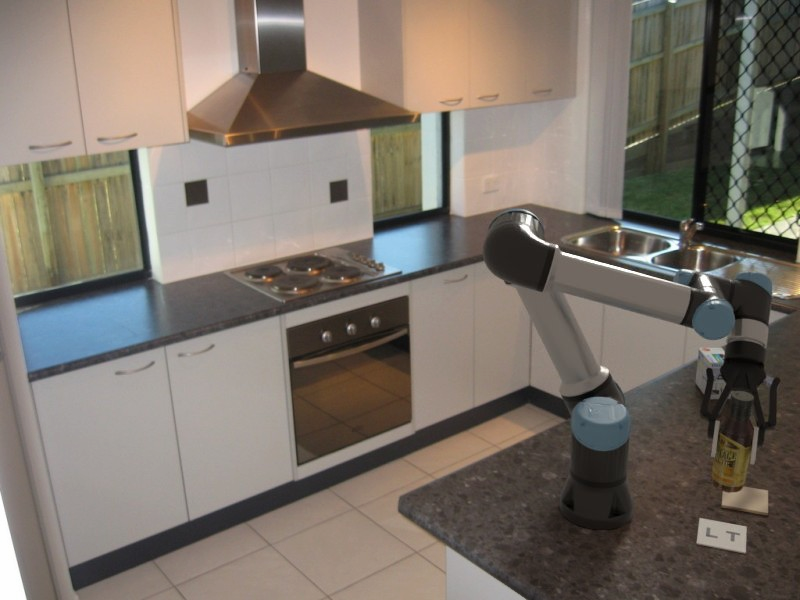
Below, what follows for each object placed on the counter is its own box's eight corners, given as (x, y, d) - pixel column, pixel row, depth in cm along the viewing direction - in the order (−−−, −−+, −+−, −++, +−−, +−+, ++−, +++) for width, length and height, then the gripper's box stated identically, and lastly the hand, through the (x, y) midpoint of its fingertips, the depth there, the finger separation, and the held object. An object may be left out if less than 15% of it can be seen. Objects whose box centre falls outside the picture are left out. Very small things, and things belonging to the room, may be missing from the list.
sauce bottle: (703, 481, 167) (714, 390, 160) (727, 474, 169) (740, 384, 162) (727, 498, 161) (740, 404, 154) (752, 490, 163) (766, 398, 156)
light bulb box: (732, 399, 225) (736, 362, 221) (706, 400, 225) (710, 363, 221) (718, 382, 235) (722, 346, 231) (694, 383, 235) (697, 347, 231)
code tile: (696, 544, 166) (696, 542, 166) (699, 519, 174) (699, 517, 174) (745, 553, 163) (745, 552, 163) (746, 527, 171) (746, 526, 171)
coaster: (721, 507, 178) (721, 504, 178) (723, 485, 186) (723, 483, 186) (767, 515, 175) (768, 513, 175) (767, 492, 183) (767, 490, 182)
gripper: (796, 360, 167) (785, 473, 159) (694, 347, 174) (679, 454, 166) (801, 346, 161) (790, 462, 152) (695, 332, 168) (679, 443, 159)
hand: (732, 458), depth 159 cm, fingers closed on sauce bottle, 6 cm apart
